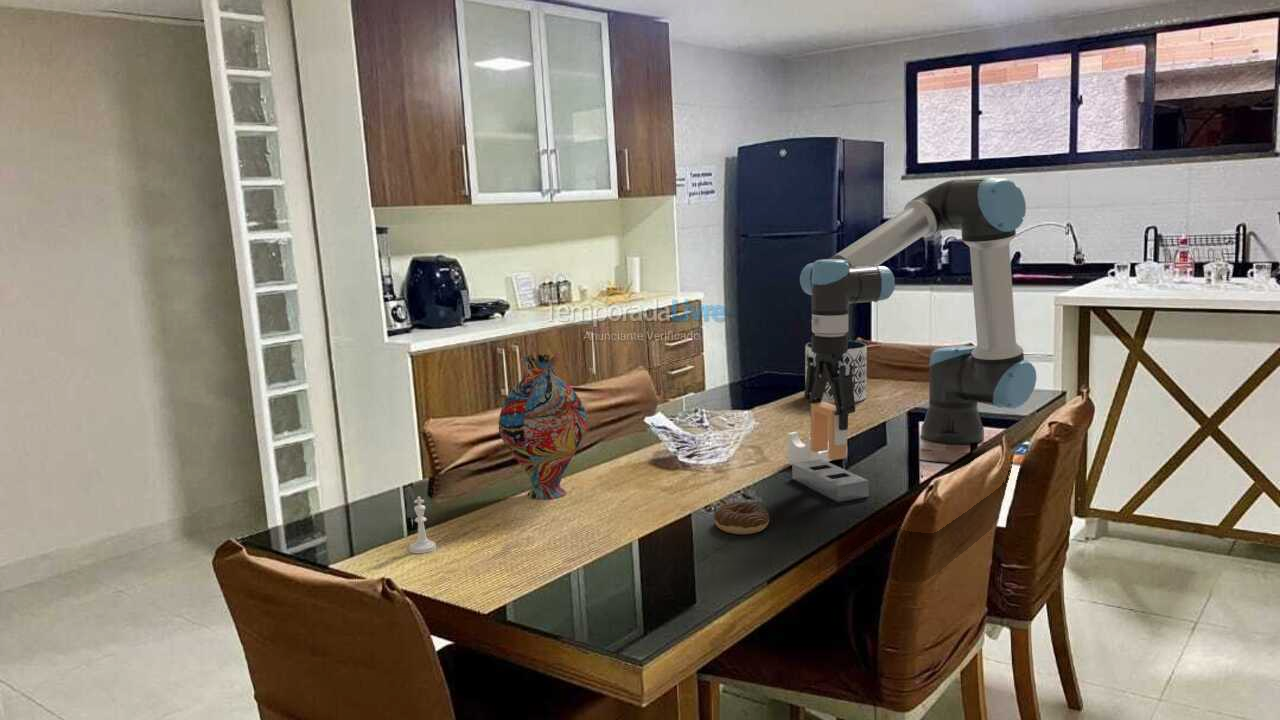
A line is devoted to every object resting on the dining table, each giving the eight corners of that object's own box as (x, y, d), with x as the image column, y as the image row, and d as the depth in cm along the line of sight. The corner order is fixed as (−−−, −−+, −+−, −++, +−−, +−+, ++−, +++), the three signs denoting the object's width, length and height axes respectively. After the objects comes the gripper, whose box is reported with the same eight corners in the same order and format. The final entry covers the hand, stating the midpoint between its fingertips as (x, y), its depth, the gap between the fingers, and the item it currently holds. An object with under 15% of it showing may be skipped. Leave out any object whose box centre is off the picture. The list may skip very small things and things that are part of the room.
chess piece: (411, 544, 180) (407, 493, 178) (437, 543, 180) (434, 492, 178) (407, 554, 175) (403, 501, 173) (434, 552, 175) (430, 500, 173)
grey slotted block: (821, 474, 215) (821, 459, 214) (868, 496, 198) (868, 480, 198) (792, 478, 212) (792, 463, 212) (837, 502, 196) (837, 485, 195)
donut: (711, 519, 189) (711, 499, 188) (765, 517, 189) (765, 497, 188) (716, 538, 178) (715, 518, 177) (772, 536, 178) (772, 516, 177)
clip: (824, 448, 208) (824, 401, 207) (846, 458, 201) (847, 409, 199) (810, 450, 207) (810, 403, 205) (832, 460, 199) (832, 411, 198)
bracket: (811, 471, 219) (811, 439, 217) (787, 464, 224) (787, 433, 223) (846, 459, 227) (846, 428, 225) (823, 453, 232) (823, 423, 231)
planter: (872, 403, 282) (873, 348, 279) (810, 405, 282) (810, 350, 279) (859, 390, 300) (859, 339, 297) (801, 392, 300) (801, 340, 297)
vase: (603, 484, 213) (597, 351, 208) (569, 511, 195) (562, 367, 190) (526, 478, 219) (519, 349, 214) (487, 504, 201) (478, 364, 196)
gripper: (787, 329, 208) (787, 430, 212) (843, 342, 188) (841, 453, 192) (817, 326, 211) (816, 426, 214) (875, 339, 191) (872, 448, 195)
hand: (828, 439), depth 203 cm, fingers closed on clip, 8 cm apart
